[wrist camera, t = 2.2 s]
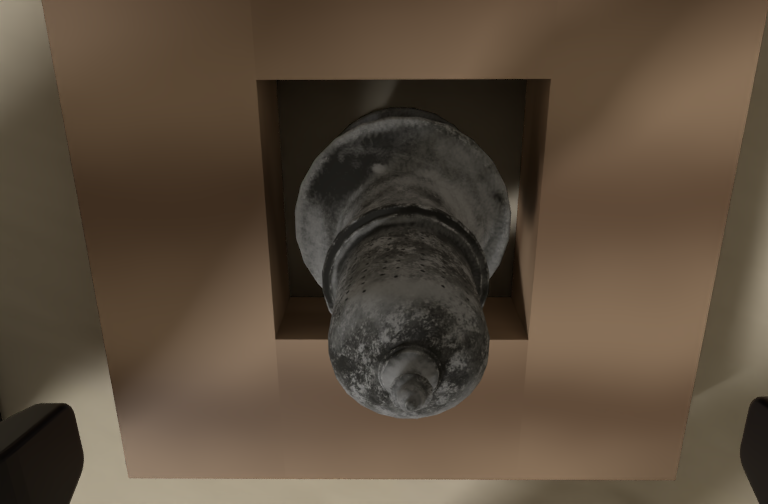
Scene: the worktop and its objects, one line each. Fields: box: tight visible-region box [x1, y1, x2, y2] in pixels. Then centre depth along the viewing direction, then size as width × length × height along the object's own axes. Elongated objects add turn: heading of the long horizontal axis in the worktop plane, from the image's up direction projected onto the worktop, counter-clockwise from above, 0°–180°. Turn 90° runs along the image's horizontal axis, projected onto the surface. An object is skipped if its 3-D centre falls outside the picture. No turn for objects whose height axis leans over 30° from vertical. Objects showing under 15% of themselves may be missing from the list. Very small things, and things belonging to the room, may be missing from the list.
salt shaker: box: [295, 108, 511, 419], centre depth 15 cm, size 6×6×12 cm
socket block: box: [42, 0, 768, 480], centre depth 19 cm, size 18×18×3 cm
